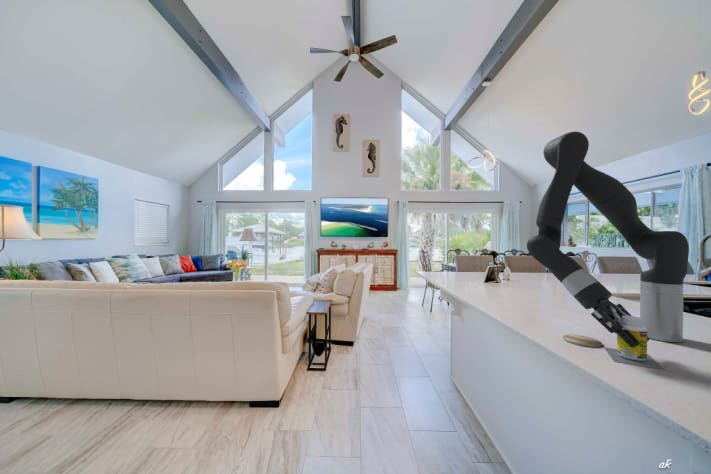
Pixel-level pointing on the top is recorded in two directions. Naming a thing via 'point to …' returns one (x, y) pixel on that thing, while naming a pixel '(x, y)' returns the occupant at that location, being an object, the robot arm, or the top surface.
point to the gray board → (646, 363)
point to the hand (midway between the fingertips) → (641, 343)
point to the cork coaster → (582, 340)
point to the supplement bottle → (639, 333)
